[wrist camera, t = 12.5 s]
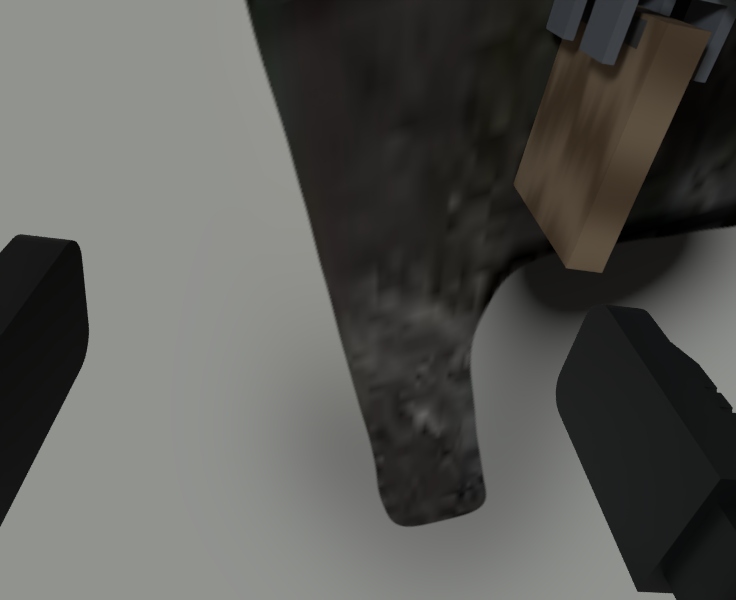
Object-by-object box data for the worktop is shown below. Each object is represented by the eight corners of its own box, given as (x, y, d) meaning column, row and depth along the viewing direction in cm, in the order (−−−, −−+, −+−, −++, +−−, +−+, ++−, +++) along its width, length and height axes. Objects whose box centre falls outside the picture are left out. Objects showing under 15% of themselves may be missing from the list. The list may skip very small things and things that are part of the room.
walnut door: (578, -12, 35) (668, 23, 25) (632, -1, 35) (739, 38, 26) (513, 184, 41) (566, 267, 32) (559, 191, 42) (624, 275, 32)
